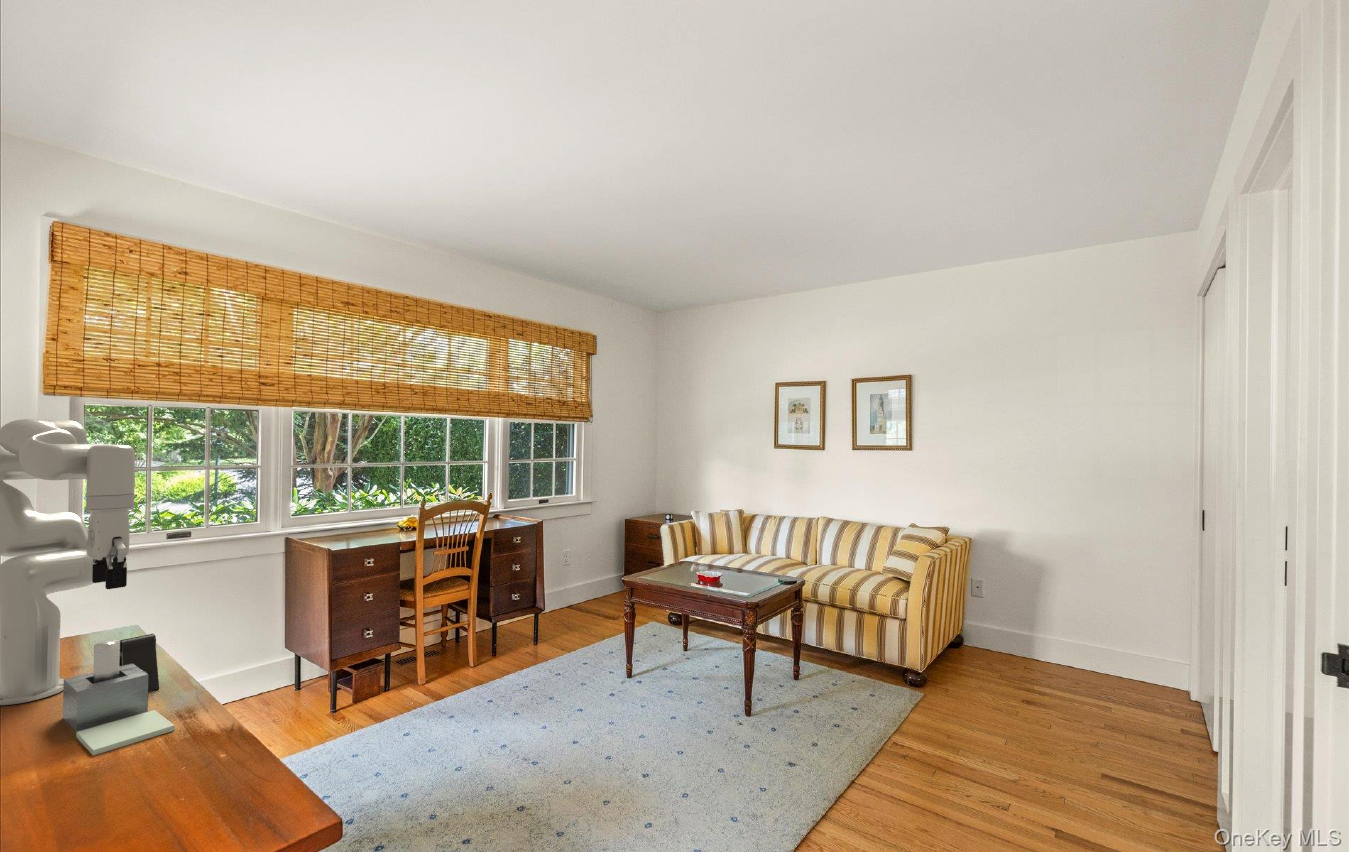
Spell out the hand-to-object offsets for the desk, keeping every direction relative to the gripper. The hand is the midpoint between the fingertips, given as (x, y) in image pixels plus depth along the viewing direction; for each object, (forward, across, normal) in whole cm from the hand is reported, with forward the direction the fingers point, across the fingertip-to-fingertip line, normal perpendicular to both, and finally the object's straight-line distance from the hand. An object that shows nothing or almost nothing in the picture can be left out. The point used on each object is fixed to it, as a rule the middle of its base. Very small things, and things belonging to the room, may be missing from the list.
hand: (109, 584), depth 129 cm
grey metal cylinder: (+24, 0, 0) cm, 24 cm away
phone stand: (+27, -12, +8) cm, 31 cm away
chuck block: (+27, 0, 0) cm, 27 cm away
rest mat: (+27, +14, 0) cm, 31 cm away
